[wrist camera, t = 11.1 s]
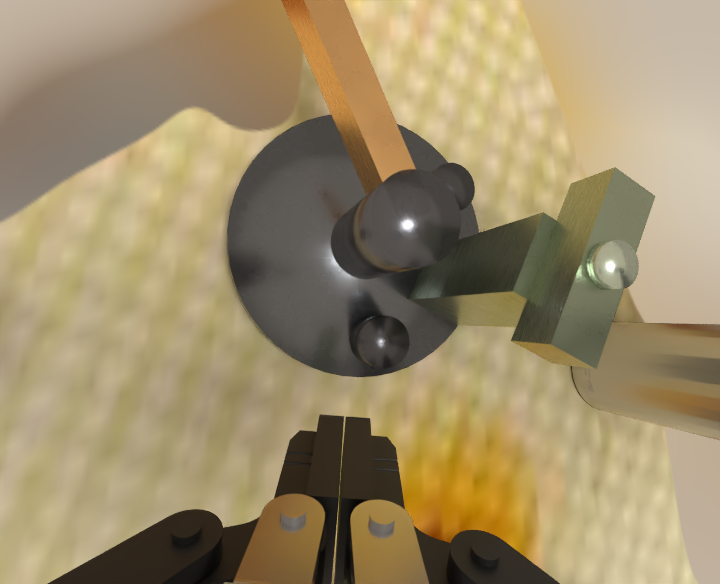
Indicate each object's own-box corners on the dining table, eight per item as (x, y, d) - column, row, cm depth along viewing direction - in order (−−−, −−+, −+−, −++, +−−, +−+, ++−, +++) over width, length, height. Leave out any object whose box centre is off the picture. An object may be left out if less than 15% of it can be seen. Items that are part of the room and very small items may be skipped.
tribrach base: (500, 201, 43) (719, 112, 24) (413, 412, 39) (593, 505, 20) (300, 74, 37) (379, -172, 18) (176, 305, 33) (115, 293, 14)
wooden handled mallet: (410, 262, 37) (475, 244, 28) (349, 291, 35) (396, 282, 26) (308, 26, 35) (339, -80, 26) (238, 44, 34) (244, -63, 24)
